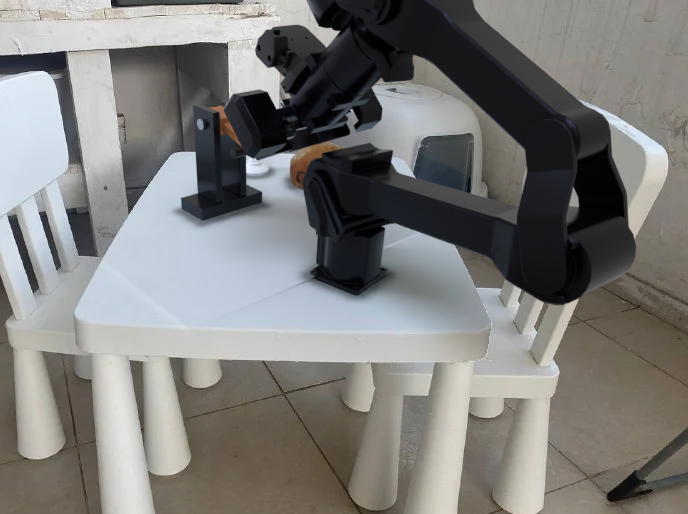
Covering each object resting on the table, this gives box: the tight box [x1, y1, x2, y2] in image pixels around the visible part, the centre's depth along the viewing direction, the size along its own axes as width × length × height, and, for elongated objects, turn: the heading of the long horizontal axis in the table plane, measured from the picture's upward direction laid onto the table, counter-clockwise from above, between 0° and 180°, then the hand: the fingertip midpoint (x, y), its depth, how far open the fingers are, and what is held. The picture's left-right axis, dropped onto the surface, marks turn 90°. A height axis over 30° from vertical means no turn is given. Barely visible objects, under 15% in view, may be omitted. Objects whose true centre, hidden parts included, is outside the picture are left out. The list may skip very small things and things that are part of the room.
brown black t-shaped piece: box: [209, 105, 248, 159], centre depth 76 cm, size 9×6×2 cm, turn 41°
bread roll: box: [289, 141, 344, 190], centre depth 92 cm, size 10×10×8 cm
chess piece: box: [246, 156, 270, 175], centre depth 94 cm, size 5×5×10 cm
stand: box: [180, 99, 263, 222], centre depth 80 cm, size 5×10×14 cm, turn 131°
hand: (272, 152), depth 72 cm, fingers open, 5 cm apart
